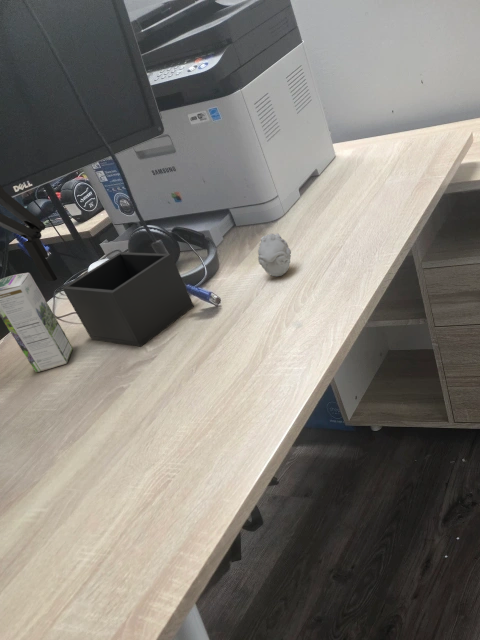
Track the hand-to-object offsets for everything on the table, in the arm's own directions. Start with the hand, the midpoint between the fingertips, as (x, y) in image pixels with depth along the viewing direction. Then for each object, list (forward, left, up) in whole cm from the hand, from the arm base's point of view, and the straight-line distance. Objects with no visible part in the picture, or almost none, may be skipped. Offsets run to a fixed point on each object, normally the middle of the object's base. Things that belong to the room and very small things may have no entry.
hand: (18, 299), depth 105 cm
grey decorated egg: (+25, +34, -12) cm, 44 cm away
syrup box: (0, 0, -12) cm, 12 cm away
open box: (+8, +14, -12) cm, 20 cm away
